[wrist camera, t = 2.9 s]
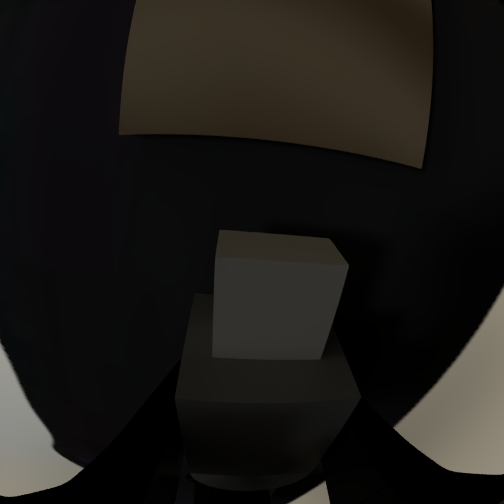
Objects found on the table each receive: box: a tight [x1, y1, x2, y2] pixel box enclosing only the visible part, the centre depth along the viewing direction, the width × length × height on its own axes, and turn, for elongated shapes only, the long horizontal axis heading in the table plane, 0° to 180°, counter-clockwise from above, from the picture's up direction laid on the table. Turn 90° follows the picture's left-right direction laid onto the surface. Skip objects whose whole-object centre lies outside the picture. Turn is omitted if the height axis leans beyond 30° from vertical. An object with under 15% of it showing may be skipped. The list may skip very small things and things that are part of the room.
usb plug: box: [175, 230, 361, 491], centre depth 8 cm, size 9×4×4 cm, turn 174°
